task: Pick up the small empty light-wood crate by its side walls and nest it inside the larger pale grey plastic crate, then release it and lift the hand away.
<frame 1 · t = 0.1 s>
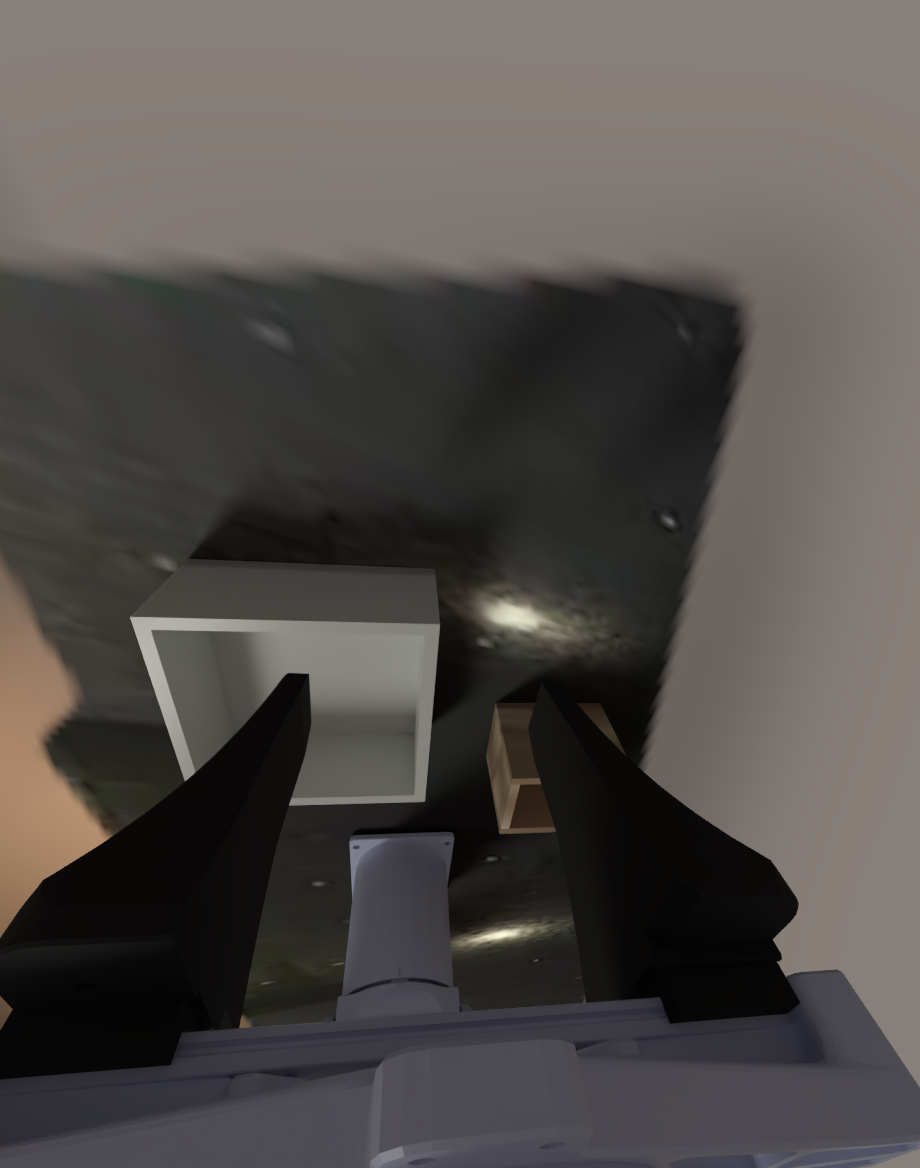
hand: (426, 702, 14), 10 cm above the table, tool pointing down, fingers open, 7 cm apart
storage crate: (323, 657, 25), on the table
wood crate: (541, 729, 29), on the table
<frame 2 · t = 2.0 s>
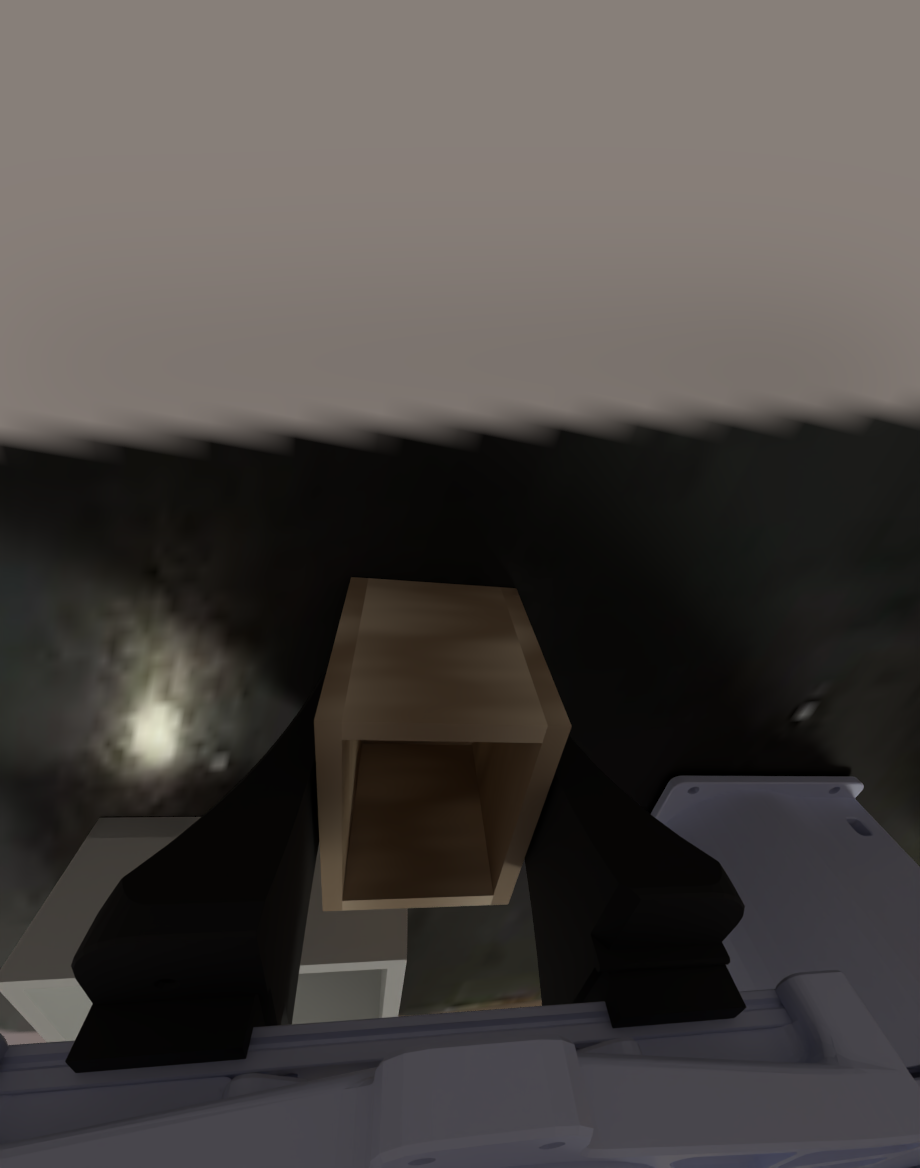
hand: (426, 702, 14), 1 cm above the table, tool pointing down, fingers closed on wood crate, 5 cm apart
storage crate: (272, 892, 21), on the table
wood crate: (425, 671, 15), on the table, touching gripper
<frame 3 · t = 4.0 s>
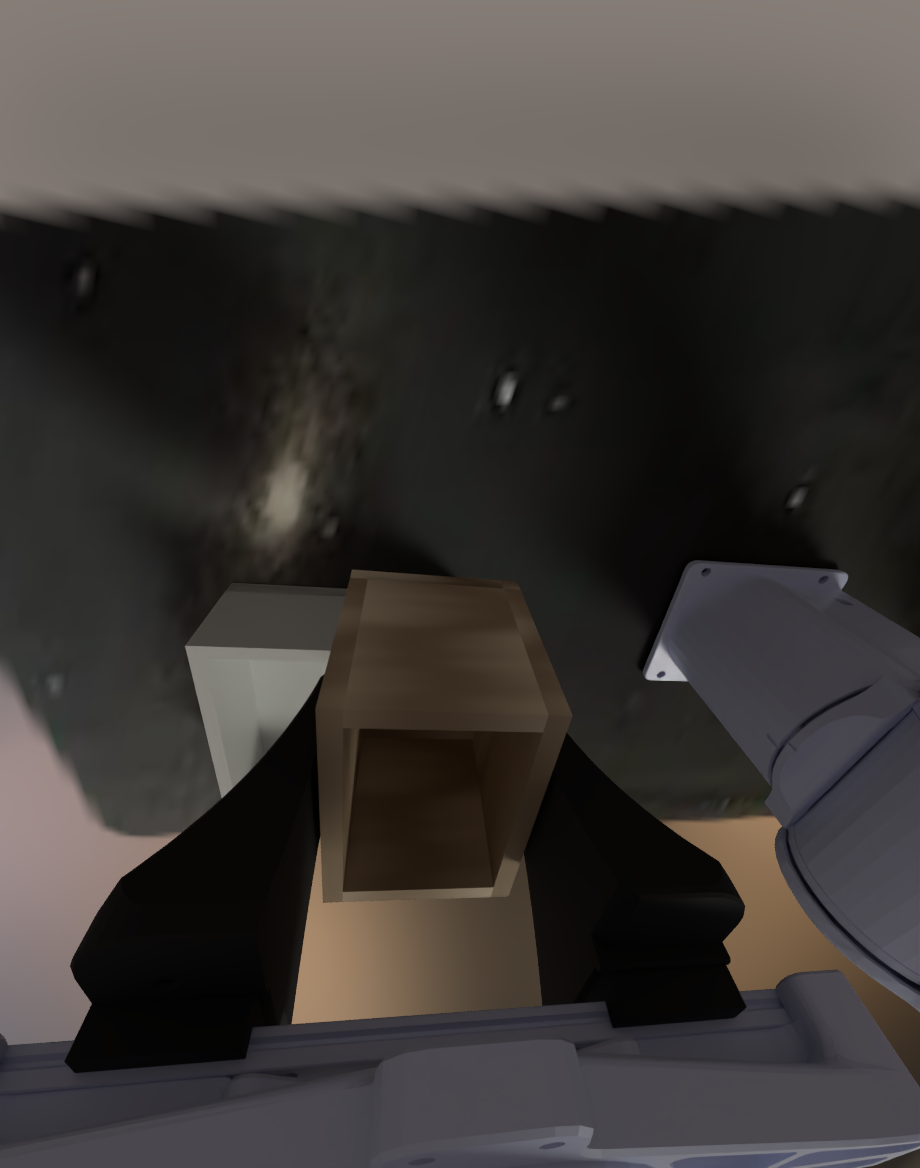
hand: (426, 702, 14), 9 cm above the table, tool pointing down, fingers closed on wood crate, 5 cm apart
storage crate: (356, 679, 25), on the table
wood crate: (425, 665, 15), point 8 cm above the table, touching gripper
when the fingers open (4 cm above the table, at t = 6.1 s): wood crate drops 1 cm, resting on storage crate.
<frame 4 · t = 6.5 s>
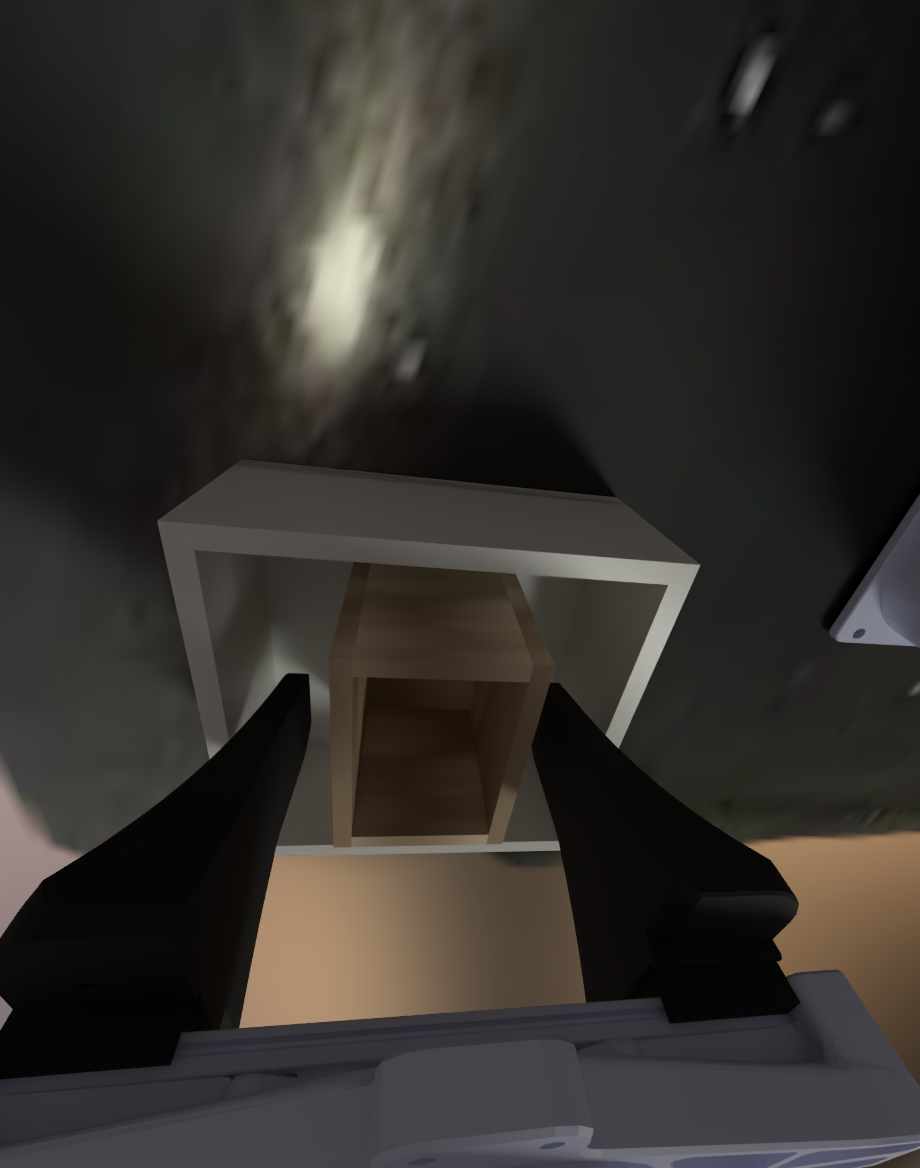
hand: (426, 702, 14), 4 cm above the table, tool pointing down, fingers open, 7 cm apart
storage crate: (424, 632, 17), on the table
wood crate: (426, 639, 16), point 1 cm above the table, touching storage crate
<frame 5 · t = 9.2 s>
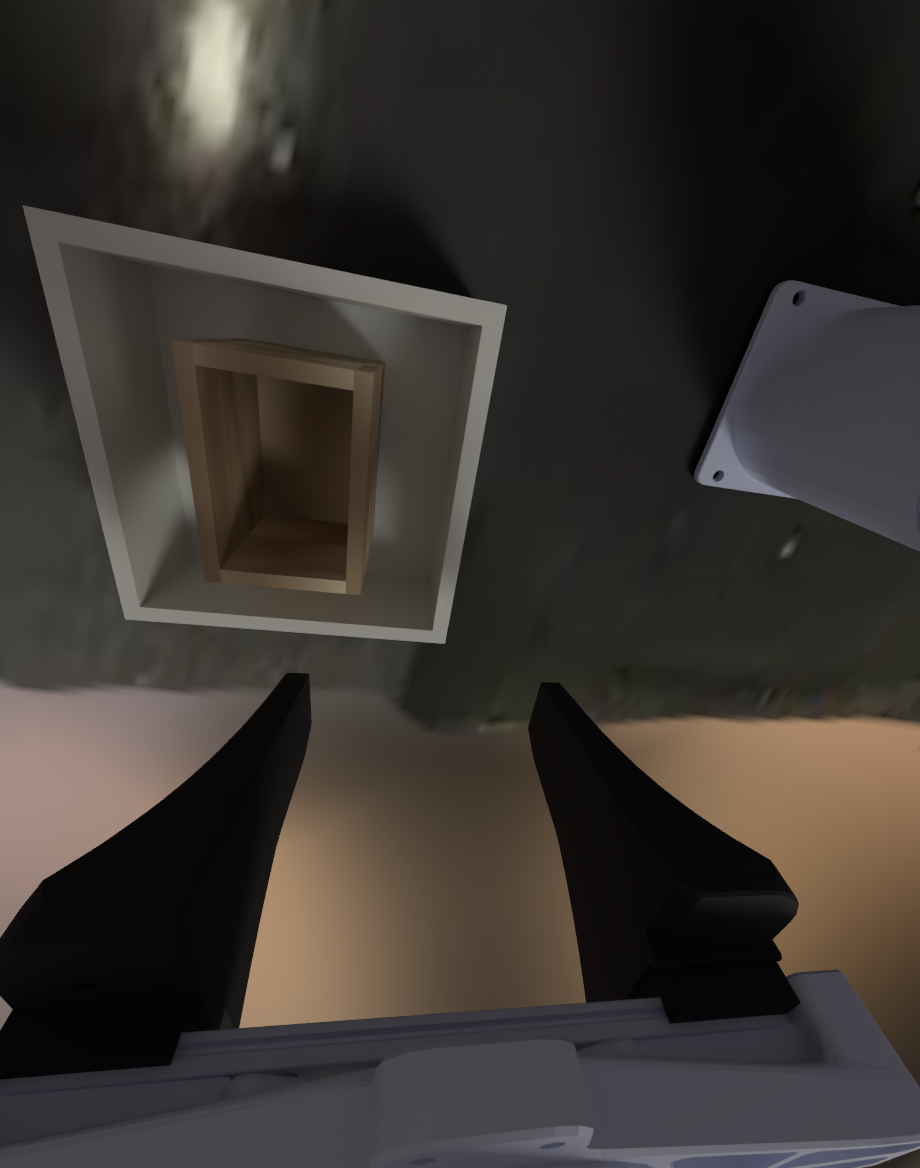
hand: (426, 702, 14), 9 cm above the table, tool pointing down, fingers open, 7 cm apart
storage crate: (319, 448, 19), on the table
wood crate: (316, 446, 18), point 1 cm above the table, touching storage crate
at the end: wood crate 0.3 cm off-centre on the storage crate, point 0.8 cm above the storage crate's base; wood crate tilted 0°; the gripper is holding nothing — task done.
